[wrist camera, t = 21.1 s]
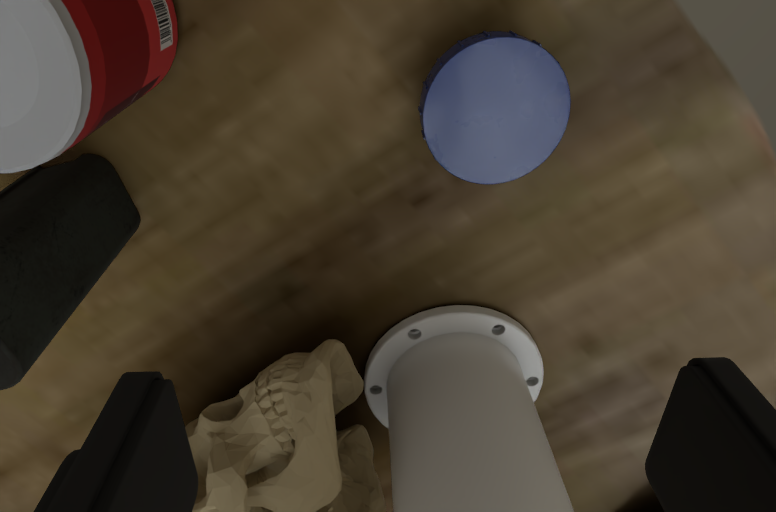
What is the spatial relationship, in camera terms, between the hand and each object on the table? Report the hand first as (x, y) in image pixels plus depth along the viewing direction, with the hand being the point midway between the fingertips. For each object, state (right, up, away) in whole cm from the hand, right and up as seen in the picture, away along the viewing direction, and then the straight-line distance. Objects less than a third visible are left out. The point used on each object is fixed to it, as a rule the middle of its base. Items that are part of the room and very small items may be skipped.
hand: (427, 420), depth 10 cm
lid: (+4, +10, +15) cm, 18 cm away
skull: (+1, -7, +21) cm, 22 cm away
